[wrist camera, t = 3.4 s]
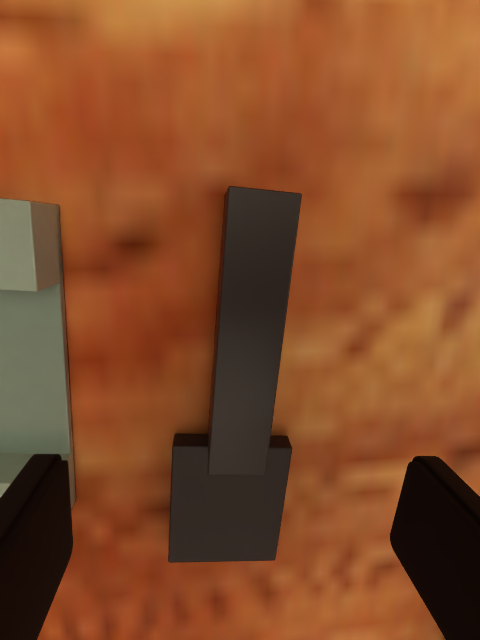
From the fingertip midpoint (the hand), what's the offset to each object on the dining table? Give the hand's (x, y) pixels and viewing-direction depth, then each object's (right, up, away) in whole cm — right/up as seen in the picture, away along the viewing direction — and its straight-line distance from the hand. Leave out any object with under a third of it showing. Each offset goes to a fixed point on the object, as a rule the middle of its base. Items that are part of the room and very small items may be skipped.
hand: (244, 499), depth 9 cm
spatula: (0, +2, +6) cm, 7 cm away
